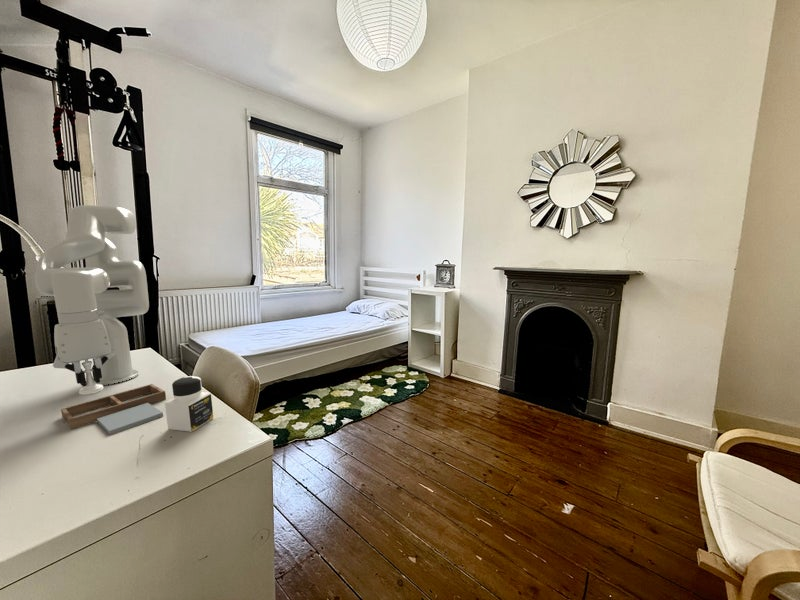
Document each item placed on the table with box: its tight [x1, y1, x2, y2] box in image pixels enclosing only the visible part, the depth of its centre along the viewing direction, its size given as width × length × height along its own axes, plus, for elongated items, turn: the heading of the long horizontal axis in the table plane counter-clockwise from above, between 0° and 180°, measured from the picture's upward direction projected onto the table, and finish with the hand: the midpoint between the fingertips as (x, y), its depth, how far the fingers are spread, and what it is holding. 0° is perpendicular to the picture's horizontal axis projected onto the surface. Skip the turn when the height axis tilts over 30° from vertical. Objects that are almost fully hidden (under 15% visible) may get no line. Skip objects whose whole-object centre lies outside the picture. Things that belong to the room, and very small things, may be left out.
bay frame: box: [60, 383, 167, 430], centre depth 92 cm, size 11×20×2 cm, turn 145°
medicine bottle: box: [164, 375, 214, 433], centre depth 82 cm, size 7×7×12 cm
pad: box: [96, 403, 164, 436], centre depth 85 cm, size 11×11×1 cm
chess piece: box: [78, 359, 104, 395], centre depth 87 cm, size 5×5×10 cm
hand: (90, 382), depth 88 cm, fingers closed on chess piece
